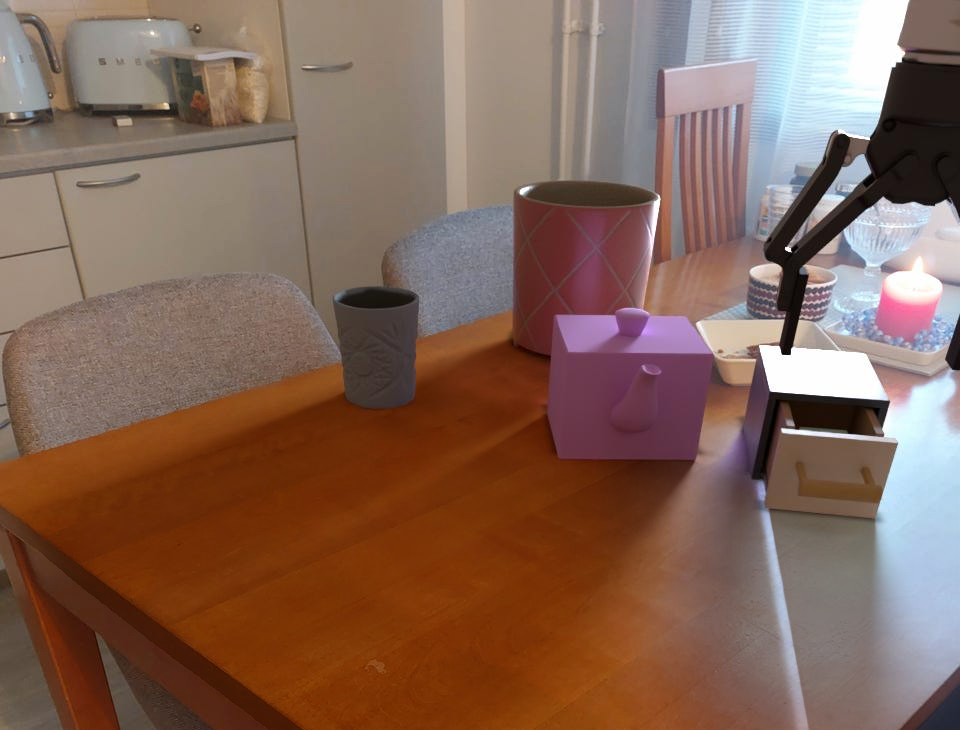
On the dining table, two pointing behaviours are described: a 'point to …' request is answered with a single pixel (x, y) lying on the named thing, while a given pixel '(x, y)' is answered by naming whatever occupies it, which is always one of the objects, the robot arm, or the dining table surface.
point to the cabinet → (806, 389)
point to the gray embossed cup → (378, 344)
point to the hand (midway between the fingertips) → (867, 358)
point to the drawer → (827, 459)
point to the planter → (578, 253)
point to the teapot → (627, 386)
